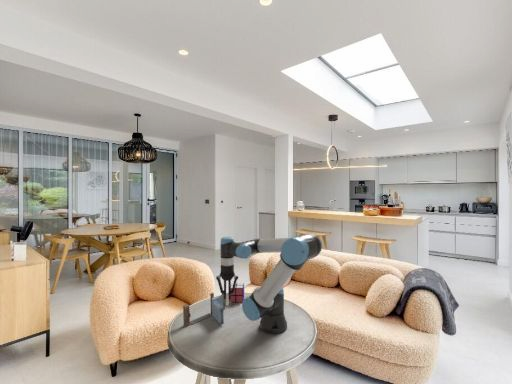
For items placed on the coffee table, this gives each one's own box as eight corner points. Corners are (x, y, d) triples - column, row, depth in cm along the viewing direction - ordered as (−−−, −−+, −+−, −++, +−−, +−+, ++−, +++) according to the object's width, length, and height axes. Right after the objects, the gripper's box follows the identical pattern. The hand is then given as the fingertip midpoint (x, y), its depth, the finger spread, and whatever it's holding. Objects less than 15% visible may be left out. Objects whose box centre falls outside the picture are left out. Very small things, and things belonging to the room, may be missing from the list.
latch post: (190, 325, 158) (190, 305, 158) (186, 327, 156) (186, 307, 156) (187, 323, 160) (187, 304, 160) (183, 325, 158) (183, 305, 158)
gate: (212, 313, 170) (211, 298, 170) (214, 313, 171) (214, 297, 170) (220, 324, 157) (220, 307, 157) (223, 323, 158) (223, 307, 158)
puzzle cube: (243, 302, 188) (243, 288, 188) (228, 302, 188) (228, 288, 188) (244, 296, 198) (244, 282, 198) (230, 296, 198) (229, 282, 198)
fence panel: (225, 308, 179) (225, 291, 178) (215, 313, 173) (215, 295, 172) (223, 307, 180) (223, 290, 180) (213, 312, 174) (213, 294, 174)
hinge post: (215, 313, 172) (214, 292, 172) (212, 315, 170) (211, 294, 170) (212, 312, 174) (212, 291, 173) (209, 313, 172) (209, 293, 172)
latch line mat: (212, 315, 170) (212, 315, 170) (191, 325, 159) (191, 324, 159) (208, 313, 172) (208, 313, 172) (187, 323, 161) (187, 322, 161)
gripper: (238, 262, 164) (238, 301, 165) (216, 262, 163) (216, 302, 164) (238, 266, 156) (238, 307, 157) (215, 266, 156) (215, 308, 157)
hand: (227, 304), depth 161 cm, fingers closed
